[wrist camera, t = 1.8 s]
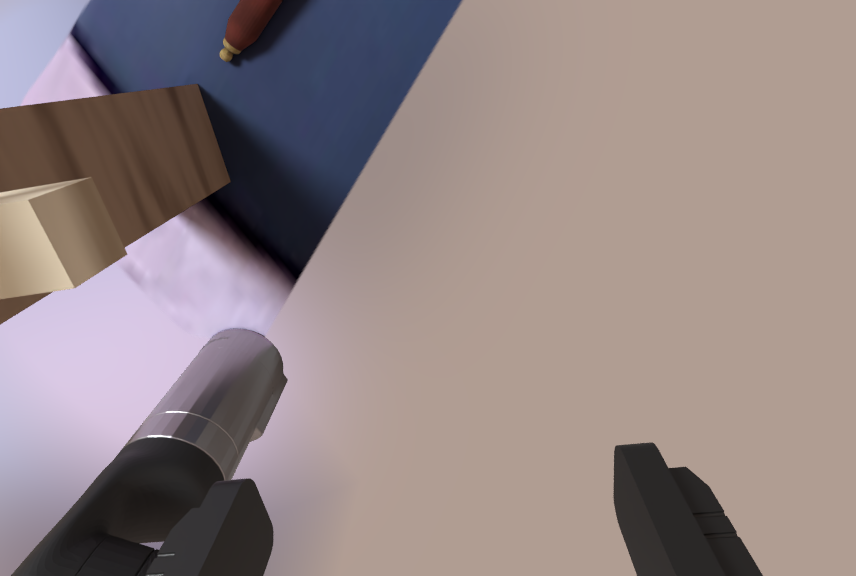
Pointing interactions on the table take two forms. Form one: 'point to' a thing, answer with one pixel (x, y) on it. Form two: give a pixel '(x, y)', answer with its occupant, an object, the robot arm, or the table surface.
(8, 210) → the maple key
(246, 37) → the gavel
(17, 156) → the teal-capped wooden post
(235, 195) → the table surface
